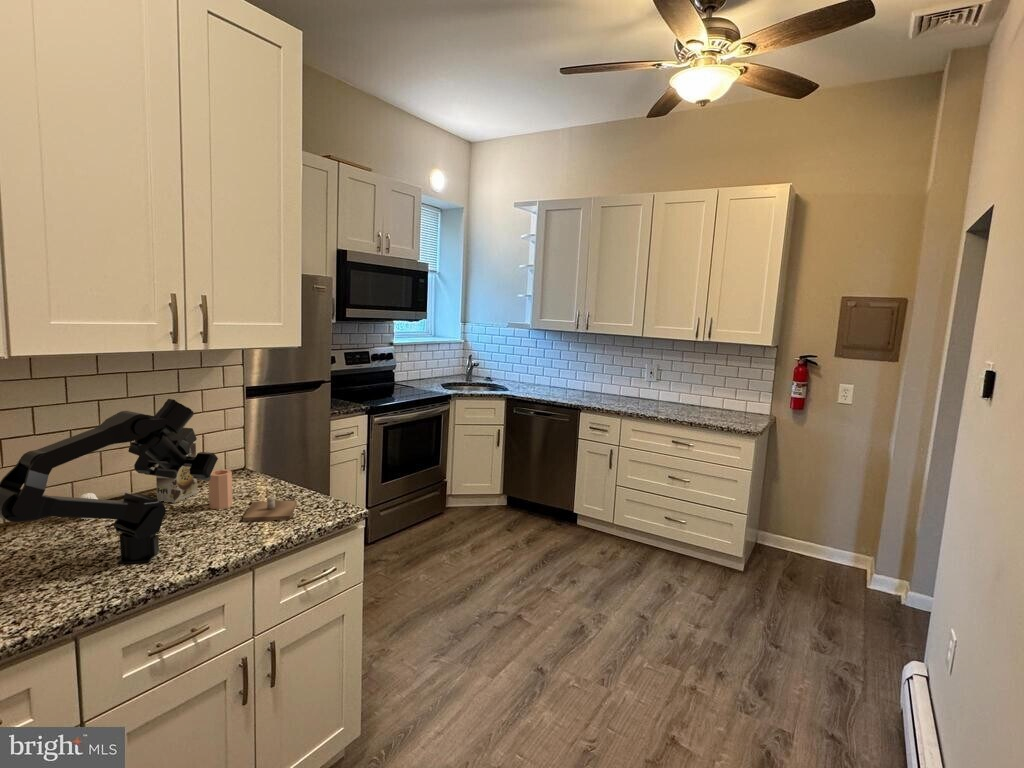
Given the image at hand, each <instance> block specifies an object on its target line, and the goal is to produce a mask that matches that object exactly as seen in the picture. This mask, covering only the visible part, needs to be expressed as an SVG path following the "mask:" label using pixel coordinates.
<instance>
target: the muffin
mask: <svg viewBox="0 0 1024 768" xmlns="http://www.w3.org/2000/svg"><path fill="white" fill-rule="evenodd" d="M79 498H88V499H99V498H98V497H97V495H96V494H95V493H93V492H86V493H84V494H81V495H80V496H79ZM80 519H81V520H82V519H84V520H83V521H89V520H88V519H91V520H94V519H93V518H80ZM85 519H86V520H85Z"/></svg>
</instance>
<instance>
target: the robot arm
mask: <svg viewBox="0 0 1024 768" xmlns="http://www.w3.org/2000/svg"><path fill="white" fill-rule="evenodd" d="M194 415H195V413H194V411H193V410H192V409H191V408H190V407H187V406H185V405H184V404H182V403H180V402H178V401H177V400H175V399H173V398H167V399H166V400H165V402H164V404H163V406H162V407H161V408H160V409H159V410H158V411H157V412H156V413H155V414H154V415H151V414H144V413H141V412H140V413H139V412H136V411H131V410H122V411H121V410H120V411H119V412H117V413H115V414H113V415H112V416H109V417H108V418H106V419H105V420H103V421H102V423H100V425H97V426H96V427H94V428H92V429H89V430H87V431H84V432H81V433H78V434H75V435H73V436H70V437H67V438H63V440H59V441H57V442H54V443H52V444H49V445H46V446H43V447H40V448H37V449H34V450H30V451H26V452H25V453H24V454H22V455H21V457H20V458H19V460H18V461H17V464H16V465H14V466H13V468H11V469H10V471H9V472H8V473H6V474H5V475H4V476H3V477H2V479H1V480H0V518H1V519H3V520H5V521H8V522H10V523H22V522H23V523H24V522H33V521H39V520H42V519H46V518H51V517H54V518H55V517H59V518H78V519H79V518H80V519H81V518H94V519H102V520H103V519H104V520H107V519H108V520H115V521H114V522H113V524H112V526H113V528H114V530H115V531H116V532H117V533H121V534H119V545H120V549H119V550H120V558H119V560H118V561H117V564H118V565H121V564H122V565H123V564H138V563H139V564H140V563H142V564H143V563H150V562H151V561H152V560H153V558H155V556H156V555H157V554H158V553H159V552H160V548H159V547H160V545H159V544H160V543H159V535H158V533H160V530H161V527H162V524H163V520H164V518H165V517H166V512H167V511H166V506H165V504H164V502H161V501H158V499H157V497H153V496H149V495H147V494H143V493H138V494H132V493H128V492H124V497H123V498H121V499H117V500H116V499H115V500H113V499H112V500H111V499H99V498H98V499H88V498H80V497H71V496H70V497H69V496H57V495H47V494H45V491H46V488H47V483H48V479H49V476H50V474H51V472H52V471H53V469H54V468H56V467H59V466H61V465H64V464H67V463H69V462H71V461H74V460H76V459H79V458H81V457H83V456H86V455H89V454H91V453H94V452H96V451H98V450H101V449H103V448H106V447H109V446H111V445H115V444H118V445H119V444H124V443H130V442H131V443H130V445H129V447H128V452H129V453H131V454H133V455H136V456H138V457H137V459H136V461H135V463H134V464H133V468H134V471H136V472H137V473H138V474H141V475H146V476H154V477H156V476H160V477H166V478H173V479H176V477H177V474H176V473H175V472H178V470H179V468H181V467H182V466H189V467H191V468H190V475H192V476H193V477H194V478H195V479H197V480H200V481H204V482H209V481H210V479H211V476H210V475H211V473H212V471H214V468H215V466H216V465H217V462H218V459H219V458H218V456H217V455H216V454H215V453H214V452H209V451H208V452H205V451H200V452H198V453H197V452H196V457H188V456H186V454H187V455H188V454H189V452H190V449H189V447H190V446H191V444H192V443H195V442H196V441H197V440H198V438H197V436H196V433H195V431H194V428H193V427H185V426H186V425H187V423H189V421H190V420H191V419H192V418H193V417H194Z"/></svg>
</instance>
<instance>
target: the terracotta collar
mask: <svg viewBox="0 0 1024 768" xmlns="http://www.w3.org/2000/svg"><path fill="white" fill-rule="evenodd" d="M232 475H233V473H232V470H230V469H223V468H222V469H216V470H212V473H211V475H210V476H211V479H210V481H208V499H209V501H208V502H209V503H208V504H209V508H210V509H211V510H222V509H223V510H224V509H227V508H230V507H231V506H233V505H234V504H233V501H234V500H233V476H232Z"/></svg>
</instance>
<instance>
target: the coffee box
mask: <svg viewBox="0 0 1024 768" xmlns="http://www.w3.org/2000/svg"><path fill="white" fill-rule="evenodd" d="M189 449H190V452H189V454H188V455H187V454H186V456H188V457H196V455H197V443H195V442H193V443H192V444H191V446H190V447H189ZM190 468H191V467H189V466H182V467H181V468H179V470H178V472H175V473H176V474H177V477H176V479H173V478H166V477H160V476H155V477H156V480H155V481H156V498H157V499H158V502H161V501H164V502H163V503H168V502H172V503H171V504H176V503H175V502H177V503H179V502H181V501H183V499H184V500H185V498H186V499H188V498H190V496H191V497H193V496H195V495H197V494H198V479H195V478H194V477H193V476H192V475H190ZM192 495H193V496H192ZM180 500H181V501H180ZM178 501H179V502H178Z"/></svg>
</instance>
